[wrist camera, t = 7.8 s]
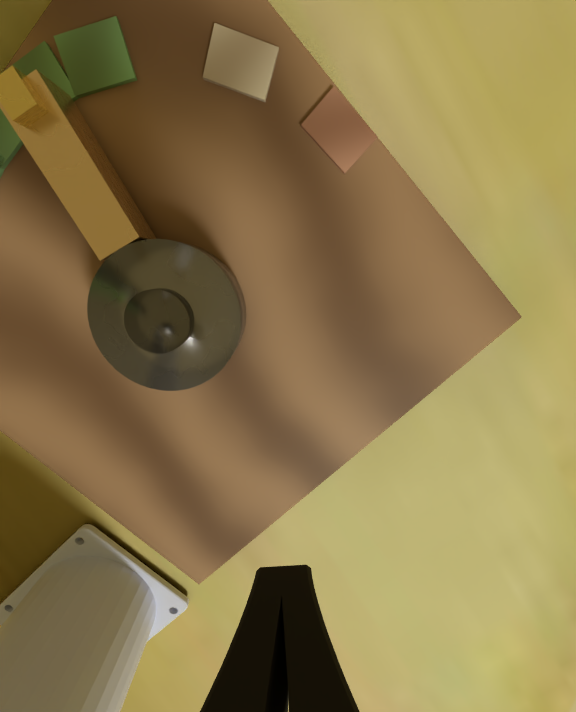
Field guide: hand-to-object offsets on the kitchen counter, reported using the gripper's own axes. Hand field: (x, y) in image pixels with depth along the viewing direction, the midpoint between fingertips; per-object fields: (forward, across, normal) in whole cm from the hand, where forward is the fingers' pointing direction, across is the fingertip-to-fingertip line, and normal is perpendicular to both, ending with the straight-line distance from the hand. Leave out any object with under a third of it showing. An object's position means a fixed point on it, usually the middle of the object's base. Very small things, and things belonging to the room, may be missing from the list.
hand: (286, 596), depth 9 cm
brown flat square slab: (+9, +4, -7) cm, 12 cm away
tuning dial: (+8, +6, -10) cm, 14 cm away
